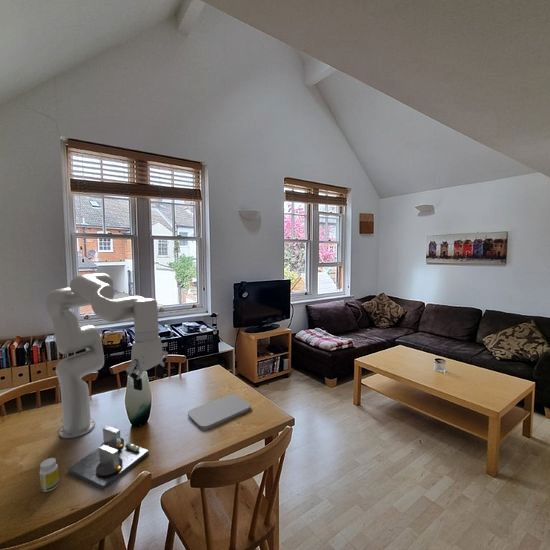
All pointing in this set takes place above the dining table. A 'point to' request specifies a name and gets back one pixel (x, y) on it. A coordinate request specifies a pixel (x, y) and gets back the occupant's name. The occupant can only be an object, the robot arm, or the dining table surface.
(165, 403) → the dining table surface
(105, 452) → the level dial
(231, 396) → the tablet
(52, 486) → the supplement bottle
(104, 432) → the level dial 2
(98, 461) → the base plate
